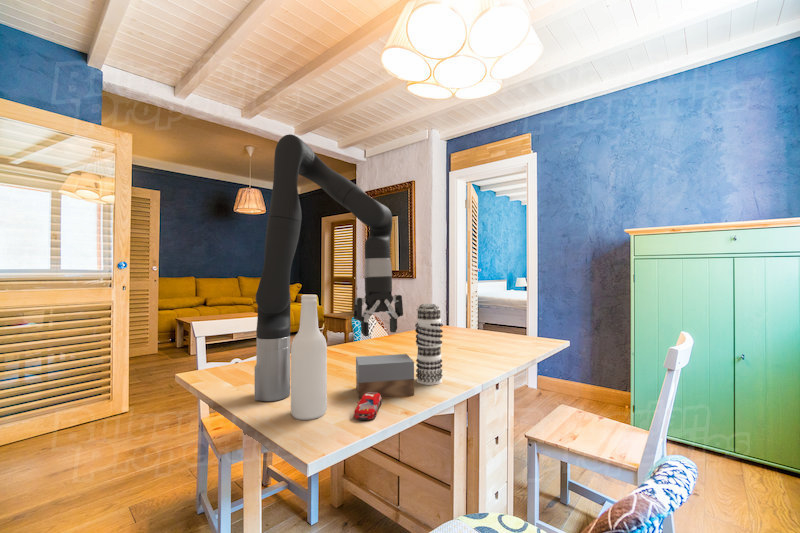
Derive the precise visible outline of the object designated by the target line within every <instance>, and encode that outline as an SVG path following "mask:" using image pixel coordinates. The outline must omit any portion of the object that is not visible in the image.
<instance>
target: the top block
mask: <svg viewBox="0 0 800 533" xmlns="http://www.w3.org/2000/svg"><path fill="white" fill-rule="evenodd" d="M355 374H356V375H357V378H358V382H359V383H365V382H380V381H394V380H408V379H414V380H415V362H414V360H413V359H412V358H411V357H410V356H409V355H408V354H407V353H402V354H401V353H399V354H382V355H366V356H365V355H364V356H363V355H362V356H361V355H360V356H355ZM356 375H355V376H356Z"/></svg>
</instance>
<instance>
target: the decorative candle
mask: <svg viewBox="0 0 800 533" xmlns="http://www.w3.org/2000/svg"><path fill="white" fill-rule="evenodd" d="M441 310H442V308H441V307H440V306H439V305H438V304H436V303H422V304H420V305H419V306H418V308H416V311H417V318H416V323H415V326H414V327H415V330H414V332H415V333H416V334H415V338H416V340H415V343H416V346H417V354H416V360H415V361H416V364H415V365H416V367H417V369H416V370H415V372H416V374H415V376H416V382H417V383H418V384H421V385H424V386H426V385H427V386H432V385H434V384H435V385H439V384H442V383H443V379H442V378H443V369H442V368H443V364H442V362H443V359H442V353H441V350H442V349H441V347H442V346H443V344H442V343H443V341H442V340H441V338H442V337H443V334H442V333H443V332H444V331H443V330H442V329H441V328H442V327H443V326H444V324H443V323H442V318H441Z"/></svg>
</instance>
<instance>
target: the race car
mask: <svg viewBox="0 0 800 533" xmlns="http://www.w3.org/2000/svg"><path fill="white" fill-rule="evenodd" d="M356 403H357V405H356V408H354V416H353V417H354V419H356V420H359V421H370V420H375V418H376V416H377V414H378V413H379V409H380V408H381V406H382V398H381V395H380V393H375V392H368V393H365V394H364V395H363V397H362V398H361V399H360V400H358V401H356Z"/></svg>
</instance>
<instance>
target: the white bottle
mask: <svg viewBox="0 0 800 533" xmlns="http://www.w3.org/2000/svg"><path fill="white" fill-rule="evenodd" d="M317 297H318V295H317V294H302V295H301V296H300V299H301V300H300V303H301V305H300V306H301V307H300V318H299V329H298V331H297V333H296V334H295V336H294V337H293V338H292V340H291V343H290V414H291V415H292V417H293V418H294V419H296V420H299V421H311V420H315V419H318V418H321V417H323V416H324V415H325V414H326V412H327V409H328V403H327V402H328V395H327V394H328V391H327V390H328V380H327V379H328V376H327V375H328V368H327V367H328V363H327V362H328V361H327V360H328V359H327V358H328V353H327V352H328V348H327V347H328V346H327V345H328V344H327V340H326V337H325V336H324V334H323V333H322V332H321V331H320V328H319V317H318V316H319V315H318V306H317V305H318V304H317V302H318V299H317Z"/></svg>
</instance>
